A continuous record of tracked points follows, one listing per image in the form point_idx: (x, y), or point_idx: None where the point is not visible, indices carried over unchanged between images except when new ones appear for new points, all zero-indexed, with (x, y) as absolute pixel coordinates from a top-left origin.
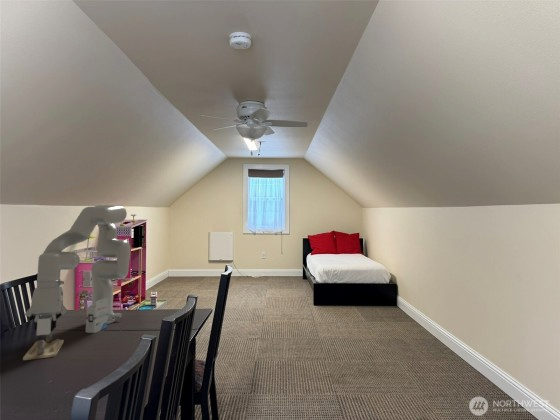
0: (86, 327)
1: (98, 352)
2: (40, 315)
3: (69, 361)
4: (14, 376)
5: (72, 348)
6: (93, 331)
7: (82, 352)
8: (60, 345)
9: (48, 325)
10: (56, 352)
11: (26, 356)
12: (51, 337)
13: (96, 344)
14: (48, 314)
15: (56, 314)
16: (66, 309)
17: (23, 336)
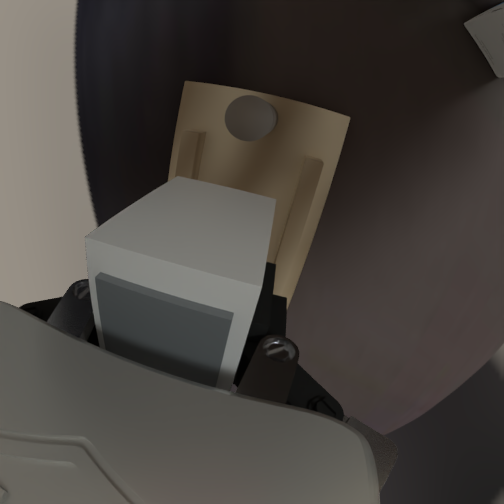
0: (482, 23)
1: (418, 354)
2: (86, 338)
3: (316, 379)
4: None
5: (367, 260)
6: (500, 73)
7: (381, 330)
8: (319, 218)
9: None
10: (287, 304)
11: None
12: (271, 130)
13: (458, 268)
14: (167, 338)
15: (277, 398)
16: (386, 472)
17: None
